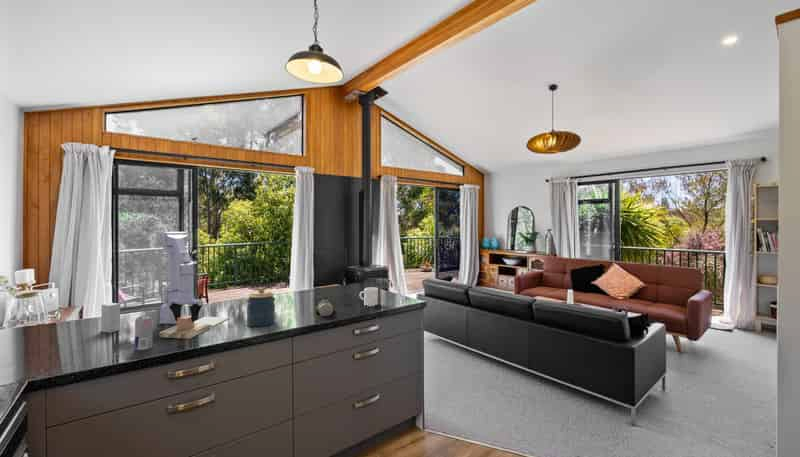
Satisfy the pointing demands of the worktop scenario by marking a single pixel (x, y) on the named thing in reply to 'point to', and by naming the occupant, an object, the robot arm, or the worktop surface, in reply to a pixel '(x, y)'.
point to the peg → (185, 323)
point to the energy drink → (143, 333)
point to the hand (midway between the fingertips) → (186, 320)
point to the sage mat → (211, 320)
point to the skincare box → (110, 317)
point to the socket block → (184, 331)
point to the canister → (260, 308)
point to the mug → (370, 296)
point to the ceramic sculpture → (324, 308)
